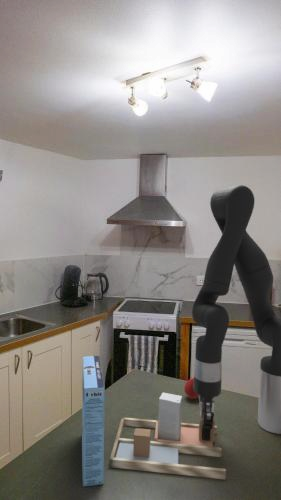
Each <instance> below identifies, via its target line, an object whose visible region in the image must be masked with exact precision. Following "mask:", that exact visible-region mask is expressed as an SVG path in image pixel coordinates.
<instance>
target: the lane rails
mask: <svg viewBox="0 0 281 500" xmlns="http://www.w3.org/2000/svg"><path fill="white" fill-rule="evenodd" d="M124 427H135V428H144V429H156V420H154V419H146V418H144V419H143V418H134V417H133V418H132V417H123V416H122V417H121V420H120V422H119V426H118V430H117V434H116V436H115V440H114V443H113V447H112V450H111V454H110V457H109V468H114V469H122V470H123V469H124V470H125V469H126V470H133V471H144V472H153V473H162V474H172V475H178V476H179V475H182V476H187V477H189V476H190V477H199V478H206V479H207V478H208V479H218V480H226V479H227V470H226V468H218V467H210V466H200V465H189V464H183V463H182V464H180V463H178V464H173V463H163V462H153V461H144V460H134V459H124V458H116V454H117V451H118V447H119V443H131V444H134V438H124V437H122V434H123V431H124ZM181 427H189V428H199V423H189V422H187V423H186V422H181ZM217 431H218V426H217V425H215V433H214V435H217ZM150 445H151V446H161V447H171V448H178V454H185V455H187V454H188V455H195V456H196V455H198V456H206V457H207V456H208V457H218V458H222V448H221V447H220V446H219V447H218V446H213V447H209V446H198V445H188V444H178V443H167V442H157V441H155V440H150Z"/></svg>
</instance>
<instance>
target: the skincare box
mask: <svg viewBox="0 0 281 500" xmlns="http://www.w3.org/2000/svg"><path fill="white" fill-rule="evenodd" d="M182 416H183V396H182V395H178V394H173V393H169V392H168V393H167V392H161V395H160V396H159V398H158V416H157V420H158V439H161V440H171V441H180V434H181V423H182Z"/></svg>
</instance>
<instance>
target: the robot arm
mask: <svg viewBox="0 0 281 500" xmlns="http://www.w3.org/2000/svg"><path fill="white" fill-rule="evenodd" d="M209 201H210V202H209V205H210V209H211V210H210V211H211V213H212V216H213V217H214V220H215V223H216V224H217V227H218V228H219V230H220V232H221V237H220V239H219V240H218V242H217V243H216V246H215V247H214V249H213V250H212V252H211V254H210V256H209V259H208V260H207V261H208V262H207V264H206V267H205V268H206V269H205V273H204V277H203V282H202V283H203V284H202V286H201V288H200V290H199V292H198V294H197V296H196V298H195V300H194V302H193V305H192V307H191V308H192V309H191V310H192V311H191V315H192V319H193V322H194V323H196V325H198V326H200V327H202V328H205V333H204V335H200V336H198V337H197V339H196V341H195V354H194V355H195V357H194V359H195V360H194V365H193V377H194V383H193V389H194V391H195V393H197V394H198V395H199V396H198V403H199V411H200V413H199V415H200V416H201V418H202V440H206V441H209V440H210V431H211V429H212V428H213V418H214V419H215V414H214V411H215V405H216V404H215V403H216V401H215V400H214V398H216V397H219V396H220V395H221V394H222V381H223V380H222V376H223V365H222V356H223V355H222V354H223V351H222V350H223V344H224V341H225V338H226V334H227V331H228V329H229V324H230V317H229V312H228V311H227V309H226V308H225V307H224V306H222V305H220V304H217V300H218V298H219V297H221V296H222V297H223V296H226V295H228V293H229V290H230V286H231V280H232V276H233V271H234V267H235V271H236V273H237V275H238V278H239V281H240V284H241V286H242V289H243V291H244V294H245V297H246V300H247V303H248V306H249V308H250V312H251V316H252V320H253V324H254V329H255V333H256V335H257V337H258V340H260V342H262V343H263V344H264V345H267V346H269V347H271V348H272V349H271V355H266V356H263V357H261V360H260V367H259V386H258V406H257V407H258V410H257V424H258V426H260V428H262V429H263V430H264V431H267V432H269V433H272V434H276V435H281V317H279V316H278V315H277V314H276V312H275V310H274V308H273V305H272V302H271V293H272V290H273V285H274V275H273V272H272V268H271V265H270V263H269V262H270V261H269V260H268V257H267V256H266V253H265V252H264V251H263V249H262V248H261V247H260V246H259V245H258V243H256V241H255V240H254V239H253V238H252V237H251V236H250V234H249V233H248V231H247V228H248V226H249V223H250V220H251V217H252V214H253V212H254V208H255V194H254V192H253V191H252V189H251V188H249V187H248V186H246V185H243V184H240V185H239V184H238V185H232V186H229V187H223V188H219V189H217V190H216V191H214V192H213V193H212V194H211V198H210V200H209Z"/></svg>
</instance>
